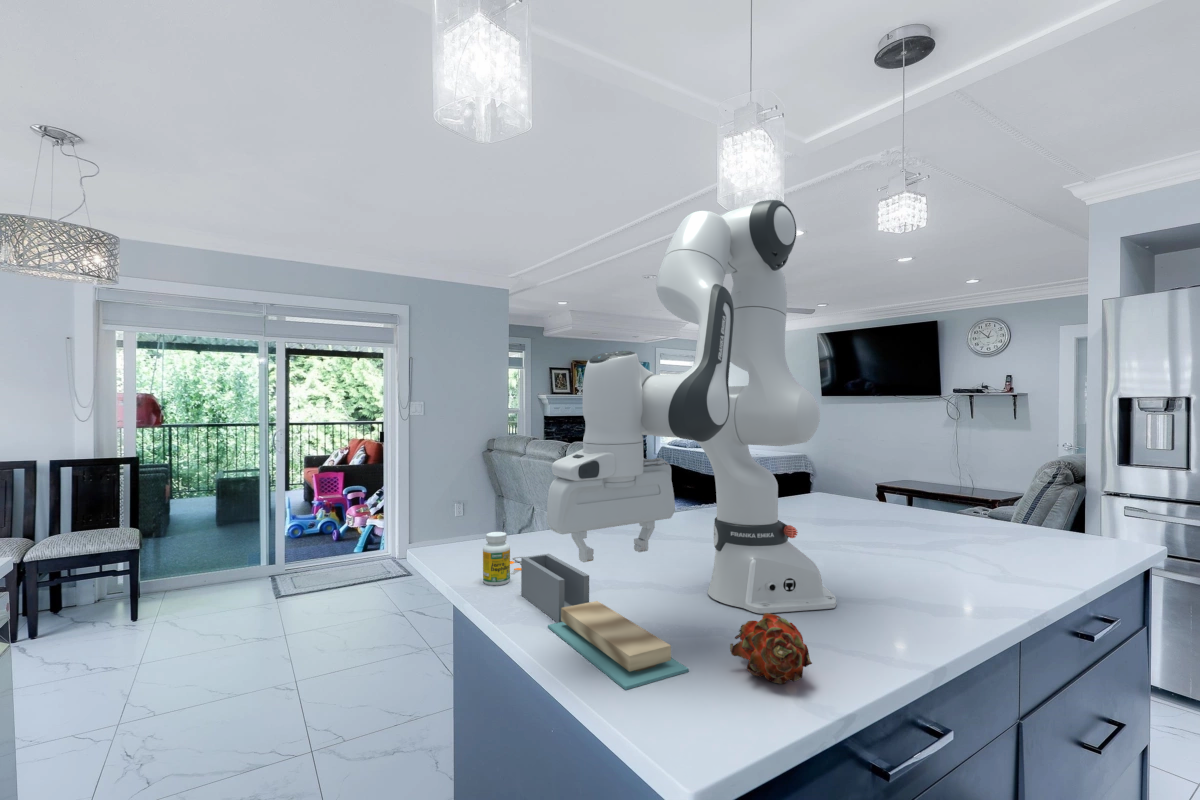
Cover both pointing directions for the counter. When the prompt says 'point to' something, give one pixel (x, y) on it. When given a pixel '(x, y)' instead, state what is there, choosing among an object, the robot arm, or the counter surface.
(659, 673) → the teal mat
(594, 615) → the oak lid
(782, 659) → the dragon fruit
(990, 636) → the counter surface
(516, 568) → the key chain
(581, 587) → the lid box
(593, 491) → the robot arm
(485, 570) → the supplement bottle
